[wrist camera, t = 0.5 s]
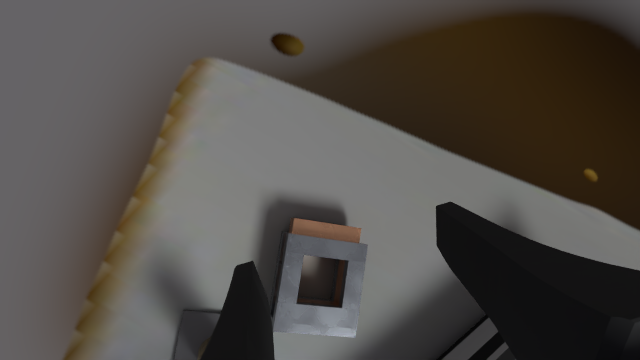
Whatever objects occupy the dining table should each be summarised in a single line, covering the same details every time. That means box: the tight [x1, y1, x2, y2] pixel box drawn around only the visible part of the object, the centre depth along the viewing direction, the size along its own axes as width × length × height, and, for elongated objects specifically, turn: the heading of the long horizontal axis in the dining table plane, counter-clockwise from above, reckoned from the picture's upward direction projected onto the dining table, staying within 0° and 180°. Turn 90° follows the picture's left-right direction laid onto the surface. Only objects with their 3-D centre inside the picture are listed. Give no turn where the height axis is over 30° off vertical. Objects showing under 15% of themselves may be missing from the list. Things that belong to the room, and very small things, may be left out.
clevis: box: [269, 218, 368, 337], centre depth 36 cm, size 10×8×4 cm
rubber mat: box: [174, 310, 221, 360], centre depth 34 cm, size 7×7×1 cm
